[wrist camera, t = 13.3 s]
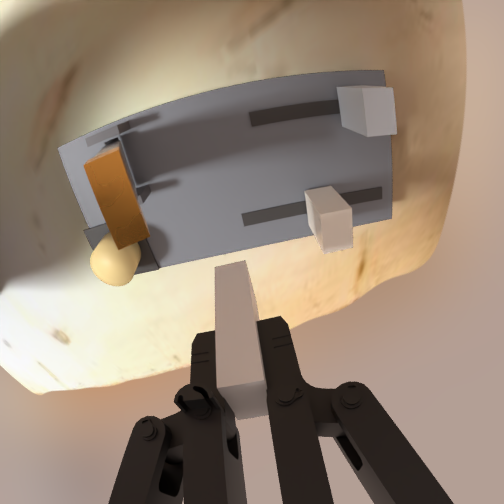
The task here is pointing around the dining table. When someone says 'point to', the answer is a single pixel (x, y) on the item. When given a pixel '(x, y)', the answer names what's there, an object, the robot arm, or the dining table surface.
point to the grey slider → (368, 109)
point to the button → (115, 261)
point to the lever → (117, 194)
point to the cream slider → (329, 219)
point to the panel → (239, 166)
